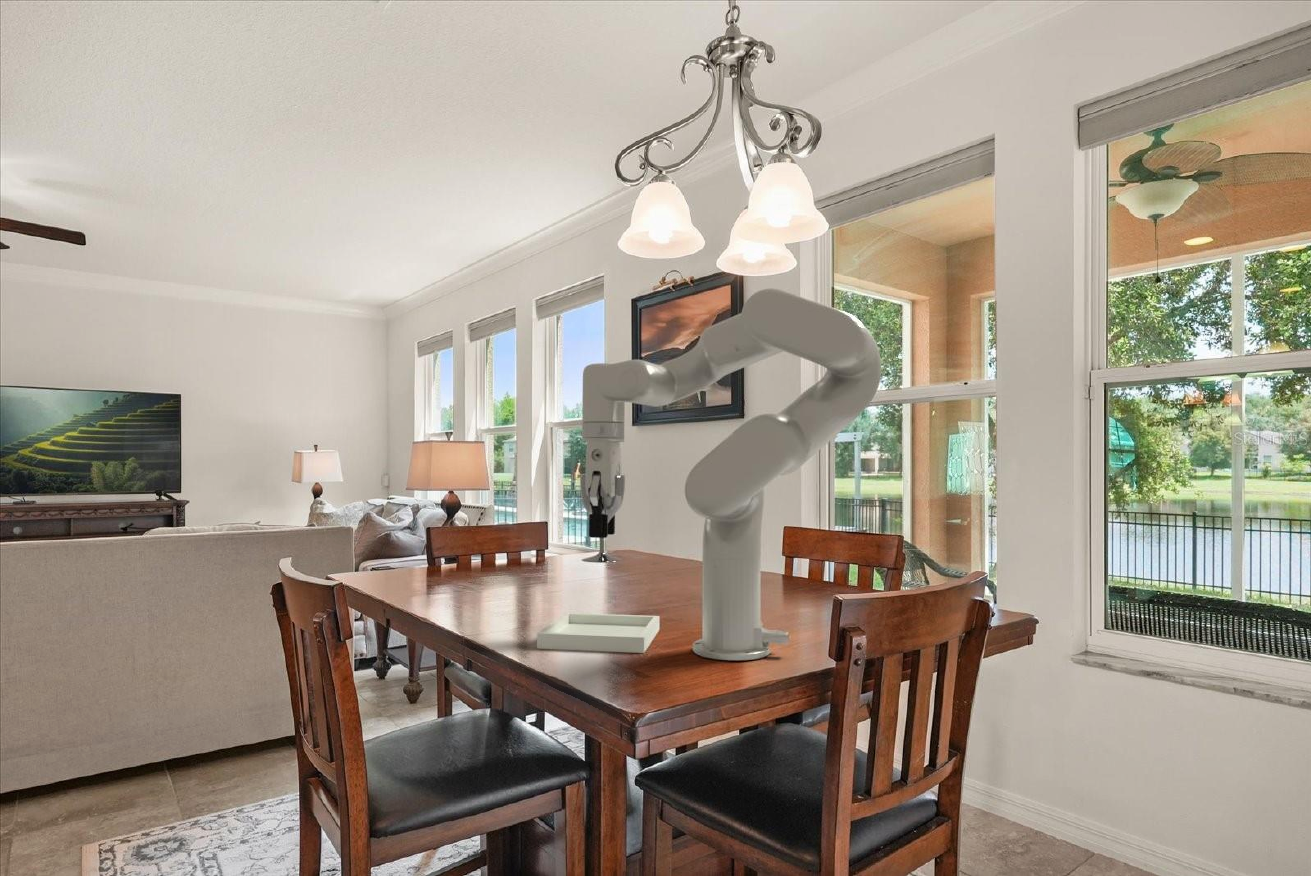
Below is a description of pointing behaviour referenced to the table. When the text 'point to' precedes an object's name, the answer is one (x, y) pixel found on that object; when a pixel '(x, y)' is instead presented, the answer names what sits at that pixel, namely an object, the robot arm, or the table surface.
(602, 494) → the wine glass
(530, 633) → the table surface
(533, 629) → the table surface
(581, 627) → the tray
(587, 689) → the table surface
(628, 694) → the table surface
